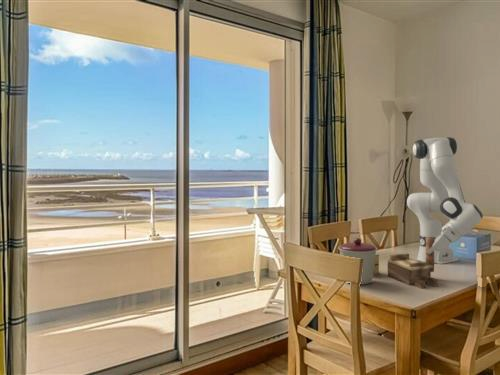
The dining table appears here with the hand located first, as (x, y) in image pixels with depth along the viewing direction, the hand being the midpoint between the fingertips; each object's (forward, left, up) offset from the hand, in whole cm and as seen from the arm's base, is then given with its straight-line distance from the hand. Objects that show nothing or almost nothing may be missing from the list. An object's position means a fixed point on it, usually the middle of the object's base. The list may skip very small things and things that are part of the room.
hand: (428, 251), depth 198 cm
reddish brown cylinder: (0, +1, -9) cm, 9 cm away
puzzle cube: (+22, -20, -14) cm, 33 cm away
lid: (+9, -2, -6) cm, 11 cm away
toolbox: (+9, 0, -13) cm, 16 cm away
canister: (+34, -8, -13) cm, 38 cm away
